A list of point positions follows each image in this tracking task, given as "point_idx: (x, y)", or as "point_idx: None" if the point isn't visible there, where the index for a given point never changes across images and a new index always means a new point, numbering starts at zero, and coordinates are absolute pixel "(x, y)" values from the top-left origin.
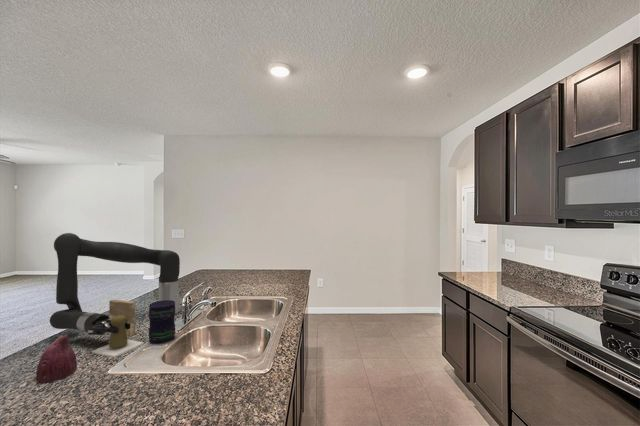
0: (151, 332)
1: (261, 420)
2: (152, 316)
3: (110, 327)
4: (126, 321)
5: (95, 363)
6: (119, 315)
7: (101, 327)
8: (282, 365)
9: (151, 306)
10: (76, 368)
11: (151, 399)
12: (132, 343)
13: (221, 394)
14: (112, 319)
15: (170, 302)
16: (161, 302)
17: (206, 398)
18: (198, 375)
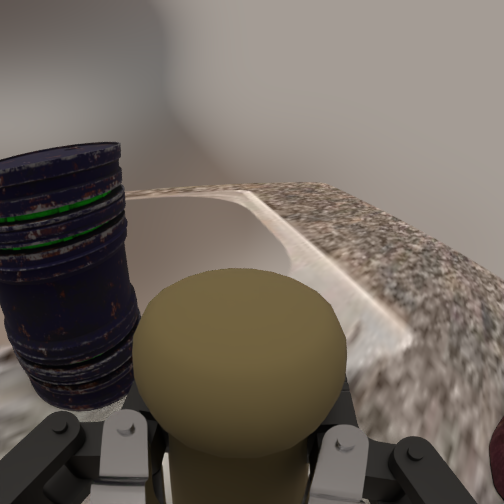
0: (129, 325)
1: (332, 186)
2: (109, 224)
3: (335, 424)
4: (81, 422)
5: (424, 436)
6: (210, 304)
7: (418, 480)
8: (223, 186)
9: (90, 154)
10: (492, 438)
11: (386, 233)
12: (167, 455)
13: (320, 201)
14: (339, 331)
15: (28, 156)
16: (4, 165)
17: (336, 206)
18: (295, 221)
